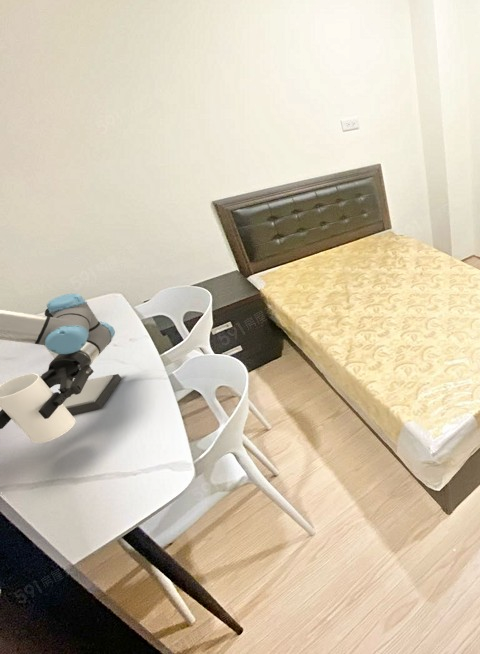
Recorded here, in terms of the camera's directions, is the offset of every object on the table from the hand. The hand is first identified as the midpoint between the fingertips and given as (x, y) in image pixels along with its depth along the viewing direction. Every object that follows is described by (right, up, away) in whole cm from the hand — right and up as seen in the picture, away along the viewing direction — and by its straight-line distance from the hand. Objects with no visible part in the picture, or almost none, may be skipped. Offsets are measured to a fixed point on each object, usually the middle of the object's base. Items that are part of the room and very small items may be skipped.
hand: (20, 419), depth 95 cm
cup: (-1, -6, +8) cm, 10 cm away
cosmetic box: (-43, +5, +51) cm, 66 cm away
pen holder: (-60, +14, +68) cm, 92 cm away
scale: (-18, -5, +32) cm, 37 cm away
